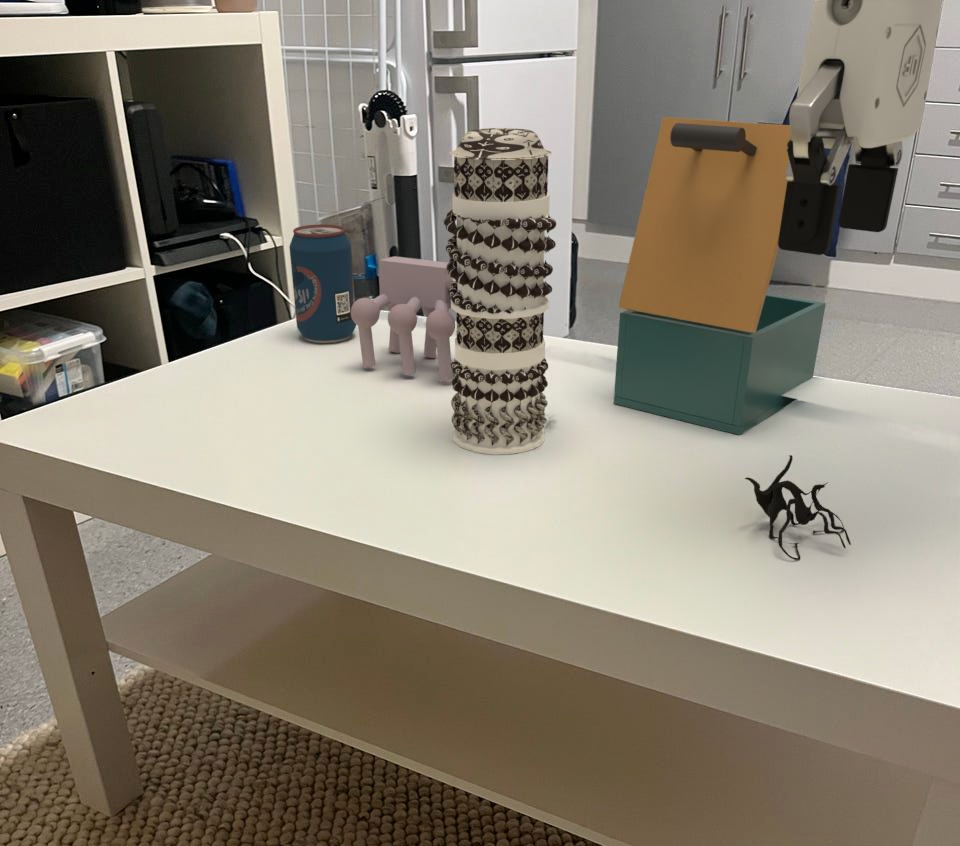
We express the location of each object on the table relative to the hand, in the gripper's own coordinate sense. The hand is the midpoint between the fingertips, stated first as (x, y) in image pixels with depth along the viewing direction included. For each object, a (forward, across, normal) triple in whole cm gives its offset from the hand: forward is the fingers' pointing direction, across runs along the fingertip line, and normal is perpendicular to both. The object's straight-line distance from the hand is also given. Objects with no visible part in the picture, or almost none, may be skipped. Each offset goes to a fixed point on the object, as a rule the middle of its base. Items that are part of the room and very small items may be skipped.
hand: (833, 239), depth 67 cm
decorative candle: (+20, 0, +28) cm, 34 cm away
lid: (+3, +17, +17) cm, 24 cm away
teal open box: (+20, +22, +17) cm, 34 cm away
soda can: (+20, +13, +64) cm, 68 cm away
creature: (+20, -2, -2) cm, 21 cm away
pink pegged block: (+20, +12, +44) cm, 49 cm away
